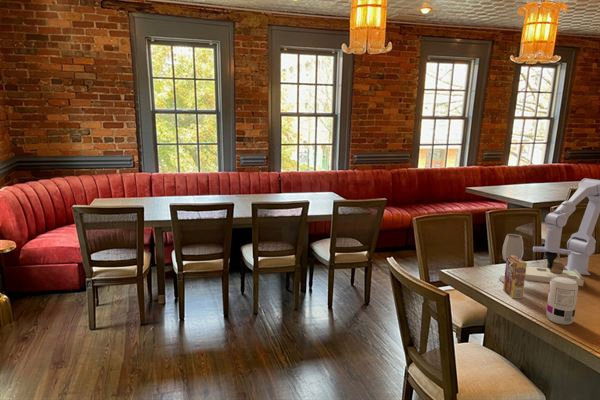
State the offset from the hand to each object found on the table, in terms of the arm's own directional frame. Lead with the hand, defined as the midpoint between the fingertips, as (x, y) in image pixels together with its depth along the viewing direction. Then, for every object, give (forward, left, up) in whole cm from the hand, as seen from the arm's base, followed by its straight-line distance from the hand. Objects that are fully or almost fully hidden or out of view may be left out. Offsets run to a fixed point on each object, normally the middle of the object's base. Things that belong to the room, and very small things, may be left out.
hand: (549, 267), depth 181 cm
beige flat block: (+3, 0, -4) cm, 5 cm away
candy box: (+28, -19, -4) cm, 34 cm away
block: (+1, +2, -1) cm, 3 cm away
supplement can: (+47, -7, -4) cm, 48 cm away
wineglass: (+13, -18, -4) cm, 23 cm away
